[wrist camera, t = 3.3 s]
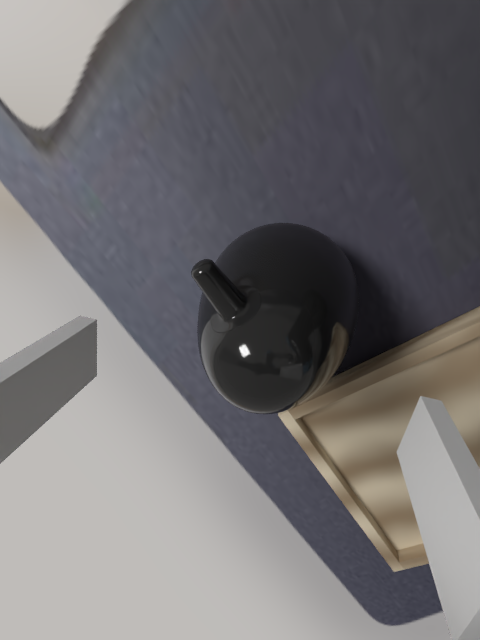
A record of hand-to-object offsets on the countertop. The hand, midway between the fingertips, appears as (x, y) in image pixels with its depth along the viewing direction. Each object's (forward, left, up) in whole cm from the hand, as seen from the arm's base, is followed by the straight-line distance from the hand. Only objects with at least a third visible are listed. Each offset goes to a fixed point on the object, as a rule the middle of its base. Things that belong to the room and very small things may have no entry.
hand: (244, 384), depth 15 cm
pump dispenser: (0, 0, -16) cm, 16 cm away
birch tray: (+11, +16, -15) cm, 25 cm away
